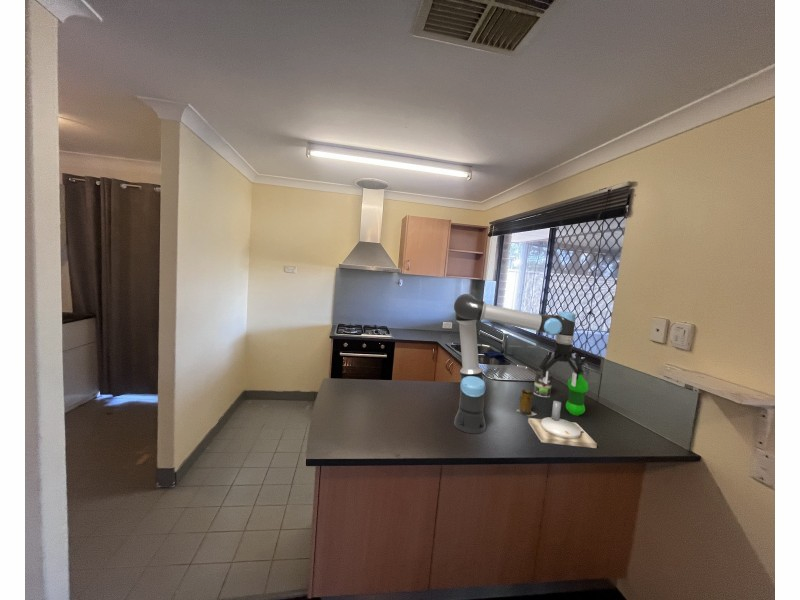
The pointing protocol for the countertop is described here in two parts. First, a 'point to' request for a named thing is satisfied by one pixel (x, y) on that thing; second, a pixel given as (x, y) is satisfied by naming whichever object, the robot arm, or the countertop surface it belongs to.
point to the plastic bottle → (577, 396)
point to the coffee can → (542, 384)
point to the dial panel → (549, 438)
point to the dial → (560, 424)
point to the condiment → (526, 403)
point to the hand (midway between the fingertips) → (559, 384)
